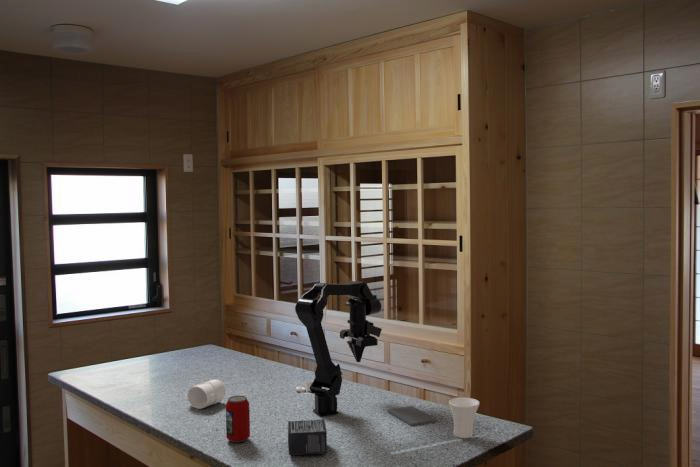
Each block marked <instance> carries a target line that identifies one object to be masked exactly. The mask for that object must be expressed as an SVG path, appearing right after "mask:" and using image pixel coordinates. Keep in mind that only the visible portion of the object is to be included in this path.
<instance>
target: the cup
mask: <svg viewBox="0 0 700 467" xmlns="http://www.w3.org/2000/svg"><path fill="white" fill-rule="evenodd" d="M480 403H481V402H480V401H479V400H477V399H475V398H471V397H455V398H451V399H450V400H449V401H448V404H449V406H450V410H451V415H452V418H453V420H452V421H453V435H454V437H456V438H460V439H469V438H472V437H473V435H474V423H475V422H474V420H475V418H476V415H477V411H478V409H479V407H480Z"/></svg>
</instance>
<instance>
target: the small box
mask: <svg viewBox="0 0 700 467" xmlns="http://www.w3.org/2000/svg"><path fill="white" fill-rule="evenodd" d="M327 435H328V434H327V428H326V422H325V419H312V420H311V419H309V420H289V421H288V422H287V444H288V445H287V446H288V447H287V448H288V455H289V456H291V455H293V456H295V455H296V456H297V455H314V454H315V455H317V454H327V453H328V451H327V450H328V448H327V447H328V446H327V444H328V443H327V442H328V440H327V439H328V438H327Z"/></svg>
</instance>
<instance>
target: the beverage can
mask: <svg viewBox="0 0 700 467" xmlns="http://www.w3.org/2000/svg"><path fill="white" fill-rule="evenodd" d="M250 417H251V415H250V402H249V400H248V398H247V396H246V395H233V396H229V397H228V398H227V401H226V403H225V423H226V424H225V427H226V428H225V431H226V439H227V440H229V441H230V442H233V443H242V442H245V441H247V440H248V439H249V438H250V436H251V420H250V419H251V418H250Z"/></svg>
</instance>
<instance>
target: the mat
mask: <svg viewBox="0 0 700 467" xmlns="http://www.w3.org/2000/svg"><path fill="white" fill-rule="evenodd" d="M387 413H388V414H389V415H391V416H393V417H395V418H397V419H399V420H401V421H402V422H403V423H405V424H406V425H408V426H410V427H414V426H419V425H424V424H425V425H426V424H429V423H430V424H431V423H436V422H437V418H435V417H434V416H432V415H430V414H427V413H425V412H424V411H423V410H421V409H419V408H417V407H415V406H412V405H408V406H404V407H397V408H391V409H387Z"/></svg>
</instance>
